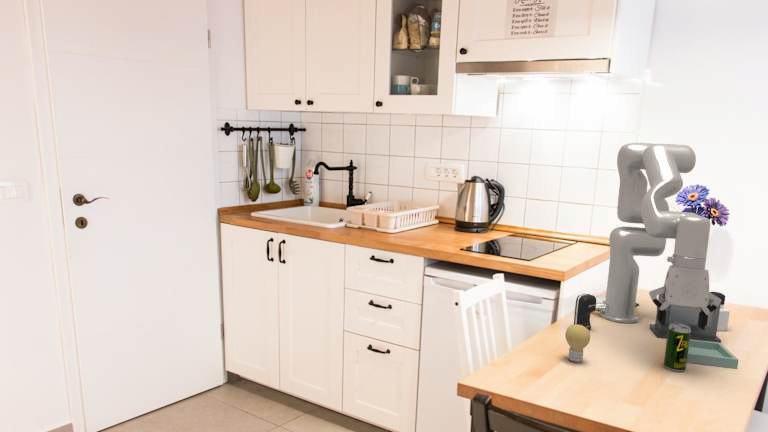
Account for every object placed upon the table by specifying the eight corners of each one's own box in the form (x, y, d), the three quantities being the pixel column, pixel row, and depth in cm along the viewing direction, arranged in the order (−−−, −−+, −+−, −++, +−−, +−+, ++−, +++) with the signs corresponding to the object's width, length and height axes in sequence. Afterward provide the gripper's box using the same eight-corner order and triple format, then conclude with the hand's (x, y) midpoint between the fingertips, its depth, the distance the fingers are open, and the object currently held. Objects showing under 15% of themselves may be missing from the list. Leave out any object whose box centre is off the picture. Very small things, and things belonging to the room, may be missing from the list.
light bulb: (558, 357, 154) (561, 322, 152) (575, 354, 156) (579, 320, 155) (574, 366, 148) (578, 330, 146) (592, 363, 150) (596, 328, 149)
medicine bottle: (727, 331, 183) (732, 296, 181) (705, 330, 183) (710, 295, 181) (714, 324, 190) (719, 290, 188) (693, 323, 190) (698, 289, 188)
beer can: (658, 365, 152) (664, 323, 150) (674, 363, 153) (680, 321, 152) (674, 373, 147) (680, 330, 145) (690, 371, 148) (696, 328, 146)
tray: (685, 362, 154) (686, 353, 154) (671, 345, 167) (672, 337, 167) (737, 368, 152) (738, 359, 152) (719, 351, 165) (720, 342, 164)
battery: (583, 333, 173) (586, 298, 172) (572, 330, 176) (575, 295, 175) (595, 329, 178) (598, 295, 176) (584, 326, 181) (588, 292, 179)
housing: (657, 337, 173) (662, 295, 171) (649, 328, 182) (654, 288, 180) (720, 344, 170) (726, 302, 168) (709, 334, 179) (715, 294, 177)
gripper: (657, 262, 143) (650, 326, 146) (731, 268, 140) (722, 334, 142) (649, 257, 151) (642, 318, 153) (719, 263, 147) (711, 325, 150)
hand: (681, 325), depth 148 cm, fingers open, 9 cm apart
